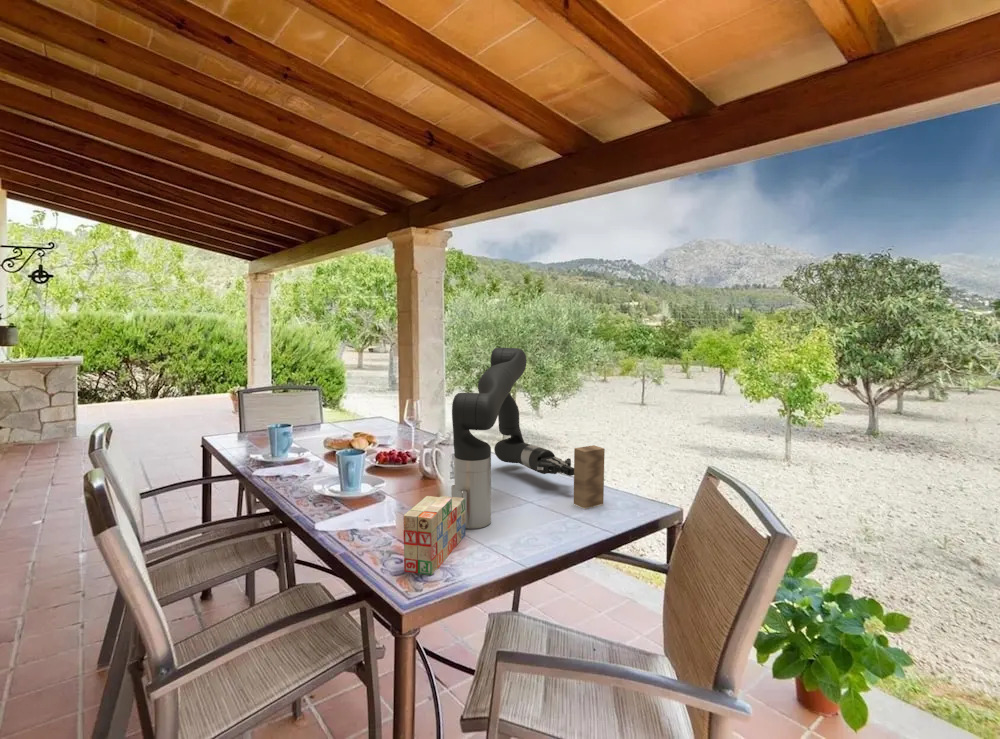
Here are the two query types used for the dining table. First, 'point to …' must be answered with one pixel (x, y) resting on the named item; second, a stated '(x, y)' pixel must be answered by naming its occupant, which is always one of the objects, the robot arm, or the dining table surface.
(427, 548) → the stack of blocks
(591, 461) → the walnut block
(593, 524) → the dining table surface
